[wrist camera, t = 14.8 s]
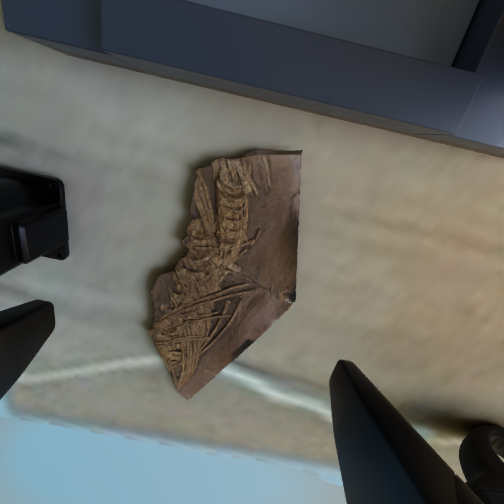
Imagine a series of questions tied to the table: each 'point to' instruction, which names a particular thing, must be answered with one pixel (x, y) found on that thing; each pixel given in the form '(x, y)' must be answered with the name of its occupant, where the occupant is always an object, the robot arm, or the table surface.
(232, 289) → the fossil slab
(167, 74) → the storage tray
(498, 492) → the controller
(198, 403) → the table surface
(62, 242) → the robot arm
